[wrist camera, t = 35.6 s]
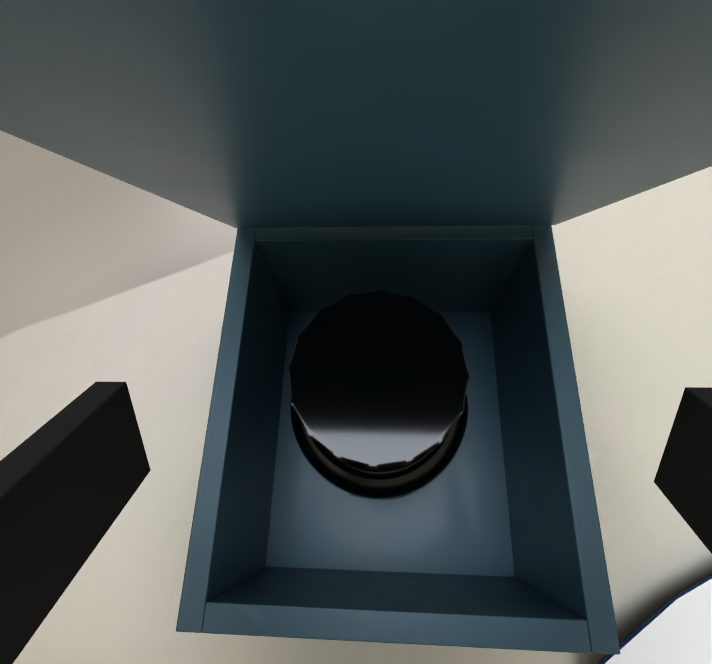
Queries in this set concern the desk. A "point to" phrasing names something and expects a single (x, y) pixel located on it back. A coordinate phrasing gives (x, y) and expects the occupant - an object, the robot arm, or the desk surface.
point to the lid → (367, 103)
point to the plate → (673, 632)
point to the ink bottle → (378, 394)
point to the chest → (427, 505)
